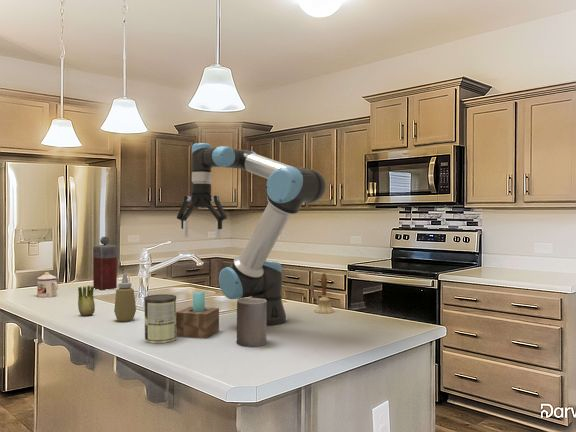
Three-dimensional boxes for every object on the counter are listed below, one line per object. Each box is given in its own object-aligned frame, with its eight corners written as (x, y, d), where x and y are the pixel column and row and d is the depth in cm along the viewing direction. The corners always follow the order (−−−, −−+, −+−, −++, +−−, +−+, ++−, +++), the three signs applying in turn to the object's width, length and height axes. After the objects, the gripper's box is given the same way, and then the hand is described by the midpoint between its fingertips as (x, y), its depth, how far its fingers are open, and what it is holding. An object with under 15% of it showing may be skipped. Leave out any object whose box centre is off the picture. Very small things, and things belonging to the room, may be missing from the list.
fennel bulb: (76, 316, 207) (76, 286, 207) (84, 313, 212) (84, 284, 212) (88, 317, 205) (88, 287, 205) (96, 314, 210) (96, 285, 210)
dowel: (201, 335, 176) (201, 294, 176) (190, 334, 177) (191, 293, 177) (206, 332, 180) (206, 292, 180) (195, 331, 181) (196, 291, 181)
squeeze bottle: (129, 323, 195) (129, 275, 194) (110, 322, 196) (109, 274, 196) (139, 318, 203) (139, 272, 202) (121, 317, 204) (120, 272, 204)
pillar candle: (230, 342, 166) (230, 296, 166) (253, 337, 173) (253, 292, 173) (249, 348, 159) (250, 300, 159) (273, 342, 166) (273, 296, 166)
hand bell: (323, 314, 211) (323, 275, 211) (310, 311, 218) (310, 273, 218) (338, 312, 216) (338, 273, 216) (325, 308, 223) (325, 271, 223)
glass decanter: (106, 286, 287) (106, 235, 286) (116, 288, 279) (116, 236, 279) (91, 288, 280) (90, 236, 280) (101, 290, 272) (101, 237, 272)
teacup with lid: (32, 296, 253) (32, 272, 253) (49, 293, 261) (48, 270, 261) (49, 298, 248) (48, 274, 247) (65, 295, 256) (65, 272, 255)
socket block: (218, 330, 183) (218, 308, 182) (206, 338, 172) (206, 314, 172) (190, 328, 185) (190, 306, 185) (176, 336, 175) (176, 312, 175)
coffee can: (137, 340, 170) (137, 297, 169) (163, 334, 178) (163, 293, 177) (157, 345, 163) (156, 300, 163) (182, 338, 171) (182, 296, 171)
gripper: (234, 183, 203) (234, 237, 203) (176, 184, 209) (177, 236, 210) (227, 182, 196) (227, 238, 196) (168, 183, 202) (168, 237, 202)
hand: (201, 237), depth 203 cm, fingers open, 13 cm apart
